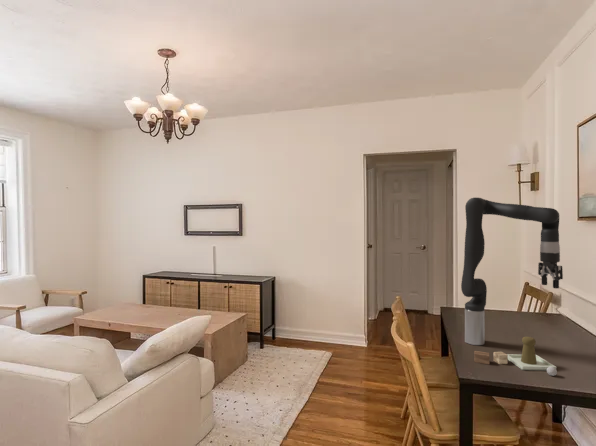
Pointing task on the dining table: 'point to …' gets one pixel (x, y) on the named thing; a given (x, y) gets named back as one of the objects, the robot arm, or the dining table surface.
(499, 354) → the maple block
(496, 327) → the dining table surface
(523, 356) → the cork
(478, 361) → the walnut block
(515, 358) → the tray
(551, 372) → the grey ball
